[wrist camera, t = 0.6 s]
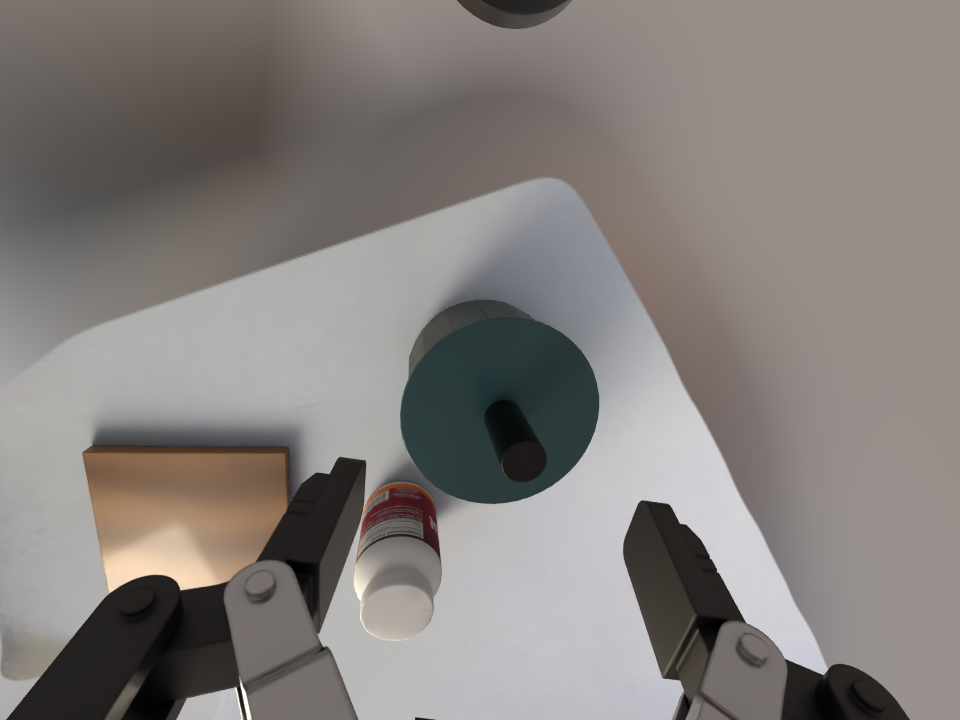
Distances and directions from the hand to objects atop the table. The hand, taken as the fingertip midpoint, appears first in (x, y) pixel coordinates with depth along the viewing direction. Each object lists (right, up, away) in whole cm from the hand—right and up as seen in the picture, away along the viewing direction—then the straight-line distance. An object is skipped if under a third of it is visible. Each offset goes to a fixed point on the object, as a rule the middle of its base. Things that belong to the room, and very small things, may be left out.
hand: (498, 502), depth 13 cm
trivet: (-23, -10, +24) cm, 35 cm away
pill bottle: (-8, -9, +26) cm, 29 cm away
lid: (+1, +1, +15) cm, 15 cm away
